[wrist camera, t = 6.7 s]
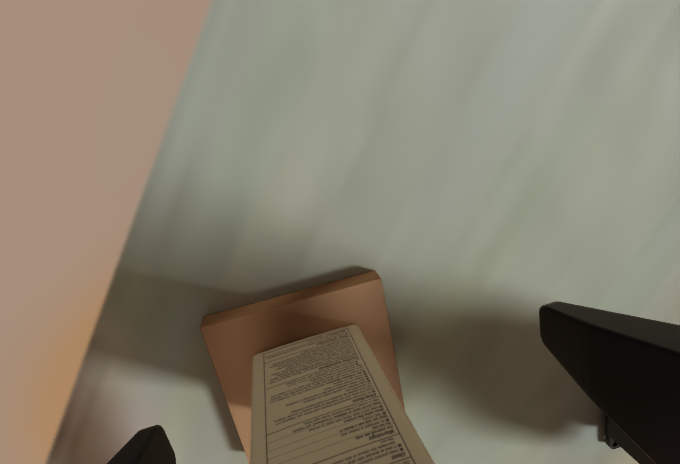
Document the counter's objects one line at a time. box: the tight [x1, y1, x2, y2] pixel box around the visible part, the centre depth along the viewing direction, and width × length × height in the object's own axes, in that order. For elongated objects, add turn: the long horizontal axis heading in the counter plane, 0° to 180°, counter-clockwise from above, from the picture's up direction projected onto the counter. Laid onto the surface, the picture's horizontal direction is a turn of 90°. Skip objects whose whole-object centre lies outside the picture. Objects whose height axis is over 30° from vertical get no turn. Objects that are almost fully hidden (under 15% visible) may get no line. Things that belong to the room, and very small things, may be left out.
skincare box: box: [250, 325, 434, 464], centre depth 16 cm, size 6×4×12 cm
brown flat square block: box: [200, 270, 405, 464], centre depth 23 cm, size 10×10×2 cm
